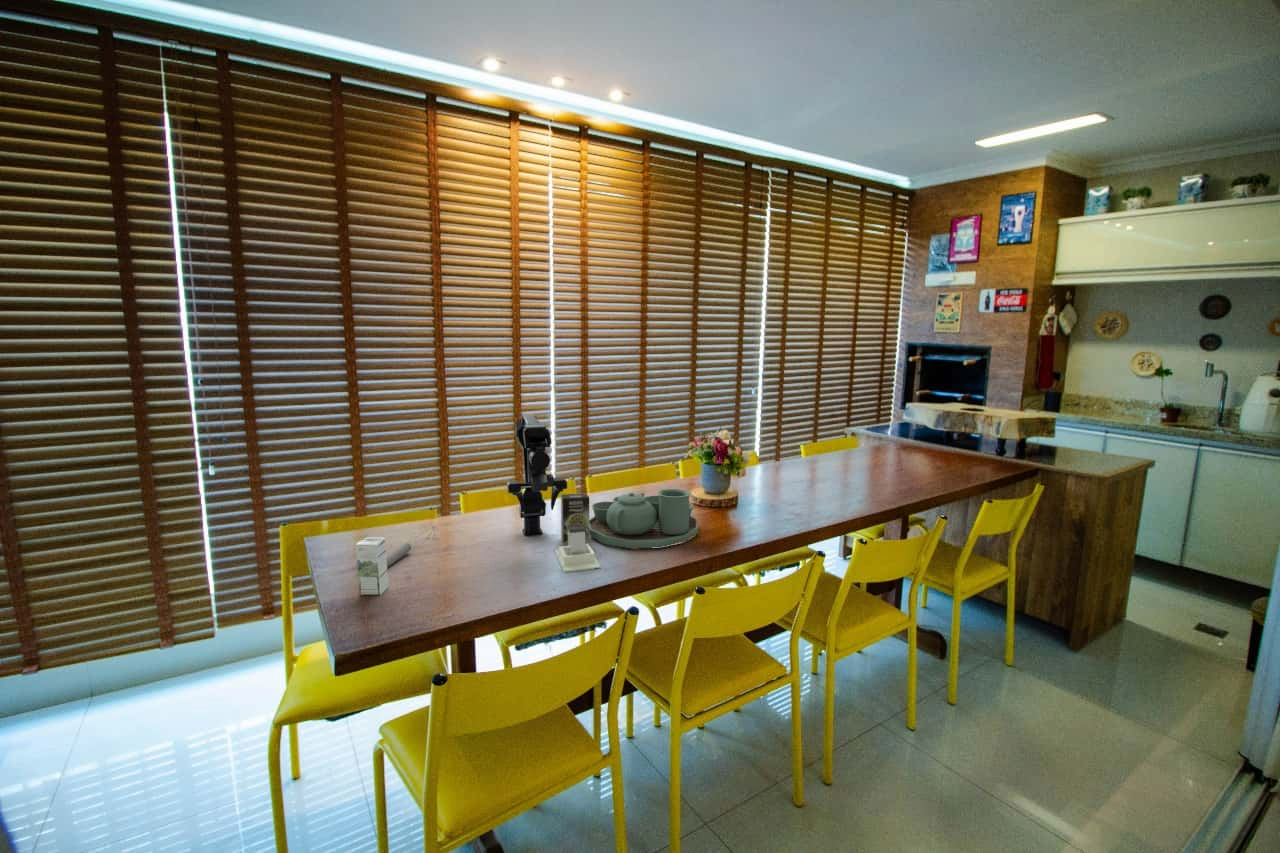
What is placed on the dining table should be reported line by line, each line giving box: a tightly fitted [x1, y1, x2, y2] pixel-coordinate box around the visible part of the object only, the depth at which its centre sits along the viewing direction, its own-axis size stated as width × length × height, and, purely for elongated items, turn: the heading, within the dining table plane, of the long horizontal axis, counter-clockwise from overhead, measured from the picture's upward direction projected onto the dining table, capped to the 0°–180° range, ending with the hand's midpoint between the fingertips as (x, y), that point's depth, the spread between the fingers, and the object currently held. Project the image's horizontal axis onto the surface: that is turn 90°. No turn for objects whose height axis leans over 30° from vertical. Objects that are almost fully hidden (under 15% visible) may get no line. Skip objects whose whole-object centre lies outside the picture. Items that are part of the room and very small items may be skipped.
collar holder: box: [554, 543, 602, 574], centre depth 176 cm, size 18×11×3 cm, turn 17°
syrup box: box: [355, 537, 389, 596], centre depth 153 cm, size 6×6×14 cm
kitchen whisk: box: [386, 522, 440, 569], centre depth 182 cm, size 6×34×6 cm, turn 171°
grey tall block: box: [567, 524, 586, 556], centre depth 176 cm, size 4×4×10 cm
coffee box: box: [560, 492, 591, 546], centre depth 192 cm, size 9×6×16 cm
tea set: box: [589, 488, 699, 549], centre depth 203 cm, size 40×40×16 cm
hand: (537, 510), depth 184 cm, fingers open, 9 cm apart
